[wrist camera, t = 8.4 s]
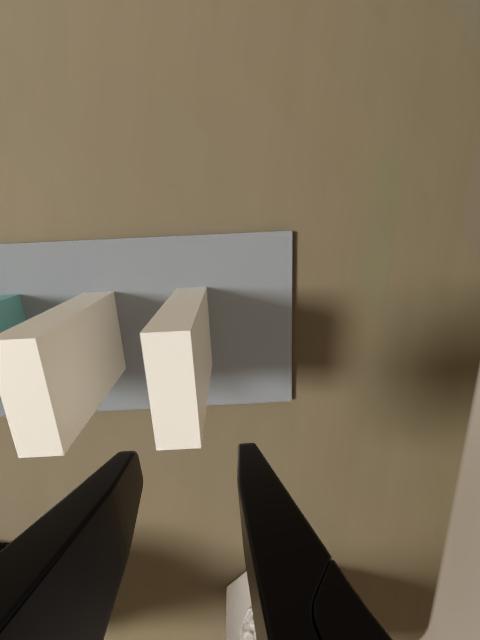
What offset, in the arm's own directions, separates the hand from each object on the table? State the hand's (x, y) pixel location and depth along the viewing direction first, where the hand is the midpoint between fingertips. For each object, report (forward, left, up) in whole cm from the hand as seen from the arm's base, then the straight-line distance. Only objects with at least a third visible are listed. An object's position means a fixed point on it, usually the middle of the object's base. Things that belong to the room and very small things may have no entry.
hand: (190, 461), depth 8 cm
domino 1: (-1, +7, -12) cm, 14 cm away
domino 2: (-1, +1, -12) cm, 13 cm away
